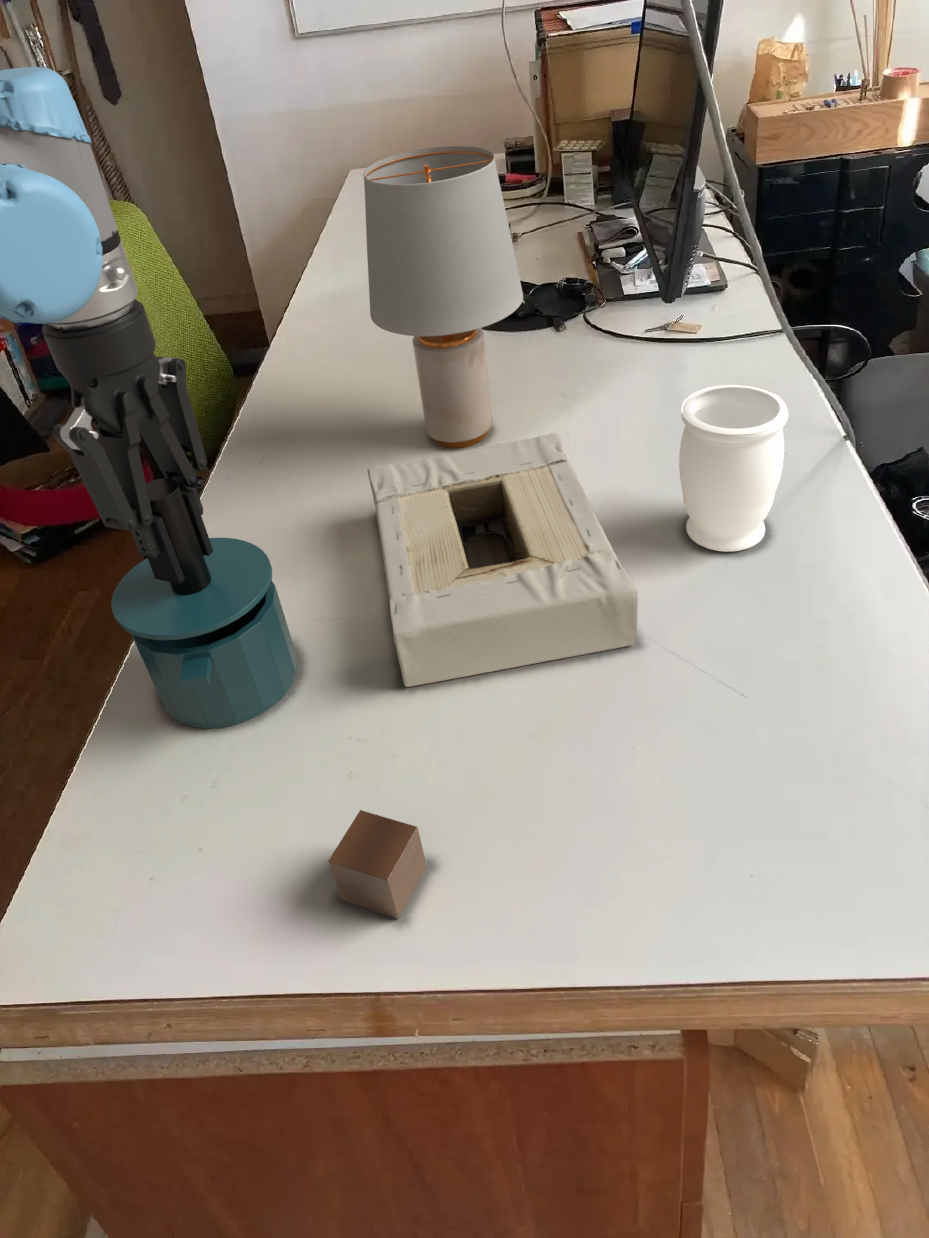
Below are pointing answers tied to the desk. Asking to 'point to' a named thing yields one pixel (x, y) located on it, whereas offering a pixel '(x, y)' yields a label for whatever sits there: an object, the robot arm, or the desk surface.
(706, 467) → the jar
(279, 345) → the desk surface
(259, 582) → the lid
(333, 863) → the block
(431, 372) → the lamp
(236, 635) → the pot
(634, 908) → the desk surface
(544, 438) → the box
